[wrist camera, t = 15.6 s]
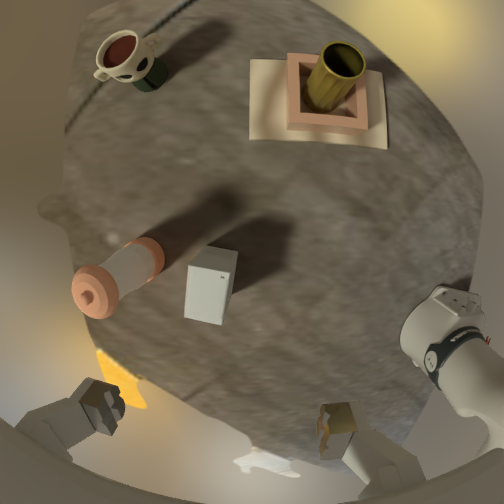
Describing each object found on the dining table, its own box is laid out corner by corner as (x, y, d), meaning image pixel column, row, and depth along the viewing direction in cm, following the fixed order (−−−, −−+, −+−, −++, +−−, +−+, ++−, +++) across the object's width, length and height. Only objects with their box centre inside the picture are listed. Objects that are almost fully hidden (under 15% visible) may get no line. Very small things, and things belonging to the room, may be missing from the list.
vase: (339, 82, 35) (368, 44, 21) (339, 116, 36) (371, 88, 23) (302, 76, 35) (316, 33, 21) (300, 110, 37) (316, 77, 23)
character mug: (132, 108, 39) (90, 89, 26) (121, 80, 37) (81, 57, 25) (186, 75, 37) (159, 42, 24) (172, 48, 35) (144, 13, 23)
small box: (205, 244, 44) (187, 262, 34) (239, 250, 44) (230, 271, 34) (199, 289, 46) (182, 317, 36) (231, 295, 46) (222, 326, 36)
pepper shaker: (159, 283, 46) (104, 338, 27) (125, 267, 46) (60, 311, 27) (169, 245, 44) (111, 287, 26) (133, 230, 44) (63, 261, 25)
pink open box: (352, 74, 34) (362, 61, 29) (356, 135, 37) (368, 129, 32) (285, 67, 35) (287, 52, 30) (286, 130, 38) (288, 122, 32)
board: (379, 74, 35) (381, 72, 34) (384, 149, 38) (387, 149, 37) (250, 62, 36) (250, 59, 35) (249, 140, 39) (249, 139, 38)
